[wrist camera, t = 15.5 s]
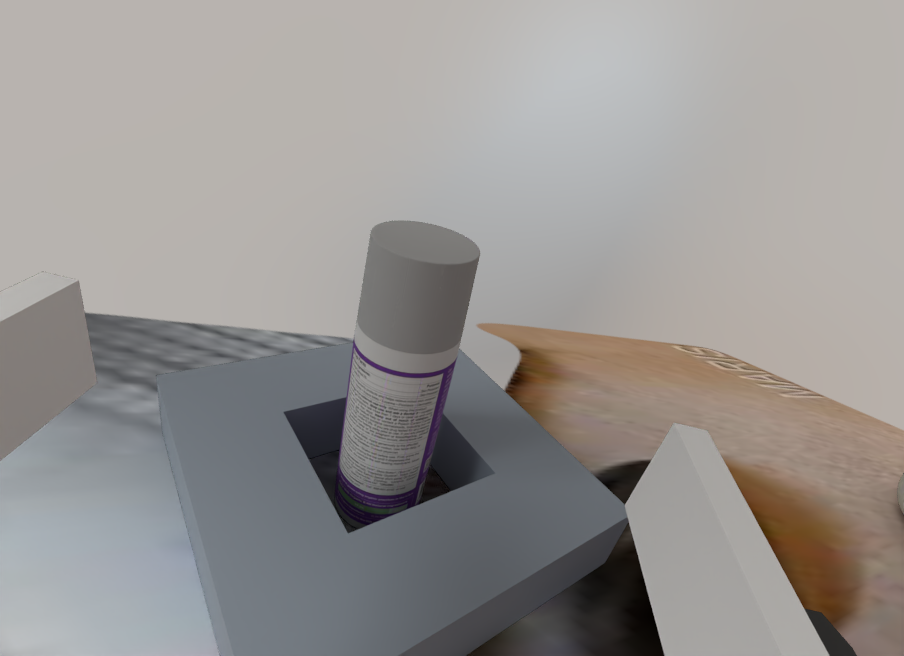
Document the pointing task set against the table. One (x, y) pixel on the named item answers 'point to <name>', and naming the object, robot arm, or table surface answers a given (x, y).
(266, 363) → the socket block
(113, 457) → the table surface
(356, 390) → the container
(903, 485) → the teacup
